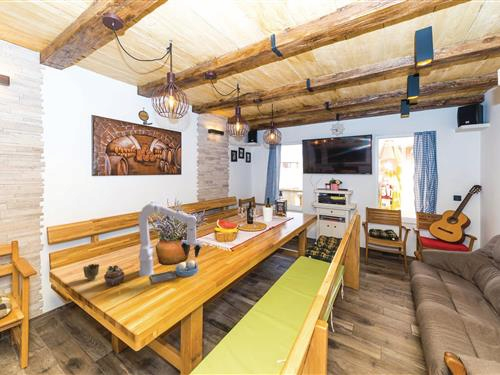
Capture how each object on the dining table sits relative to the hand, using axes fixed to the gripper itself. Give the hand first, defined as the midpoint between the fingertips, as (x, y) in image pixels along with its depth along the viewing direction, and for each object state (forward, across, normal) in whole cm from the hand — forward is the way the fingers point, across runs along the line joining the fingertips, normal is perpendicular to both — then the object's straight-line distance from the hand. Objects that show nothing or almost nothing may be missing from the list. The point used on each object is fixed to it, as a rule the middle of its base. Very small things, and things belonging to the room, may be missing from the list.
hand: (191, 255), depth 141 cm
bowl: (+10, -2, -2) cm, 11 cm away
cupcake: (+10, -30, -29) cm, 44 cm away
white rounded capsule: (+9, -3, -5) cm, 11 cm away
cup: (+10, -46, -32) cm, 57 cm away
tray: (+10, -10, -14) cm, 20 cm away
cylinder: (+9, 0, 0) cm, 9 cm away
